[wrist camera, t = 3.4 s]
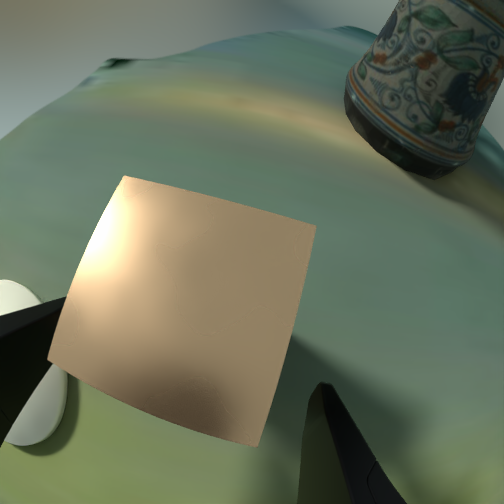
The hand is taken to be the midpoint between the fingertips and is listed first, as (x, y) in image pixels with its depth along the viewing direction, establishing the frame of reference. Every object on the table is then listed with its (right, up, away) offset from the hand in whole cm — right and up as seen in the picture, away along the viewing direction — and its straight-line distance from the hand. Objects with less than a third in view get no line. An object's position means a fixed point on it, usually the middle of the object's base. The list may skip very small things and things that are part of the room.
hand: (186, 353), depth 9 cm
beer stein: (+20, +19, +19) cm, 33 cm away
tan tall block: (0, -2, +9) cm, 9 cm away
